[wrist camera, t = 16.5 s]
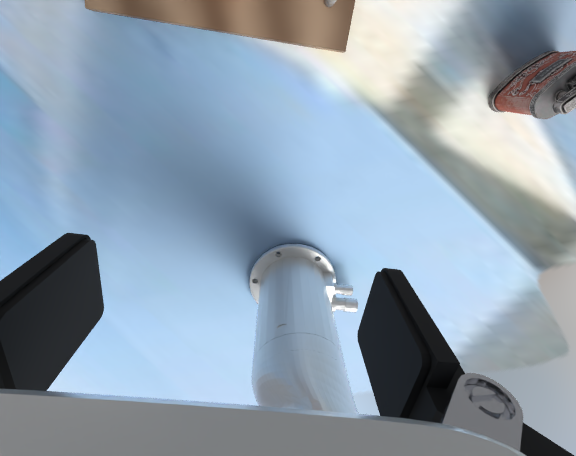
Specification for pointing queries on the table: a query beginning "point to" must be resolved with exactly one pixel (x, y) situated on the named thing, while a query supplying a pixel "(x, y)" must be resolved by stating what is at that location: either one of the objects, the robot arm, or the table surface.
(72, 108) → the table surface
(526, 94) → the lighter
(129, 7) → the rack
